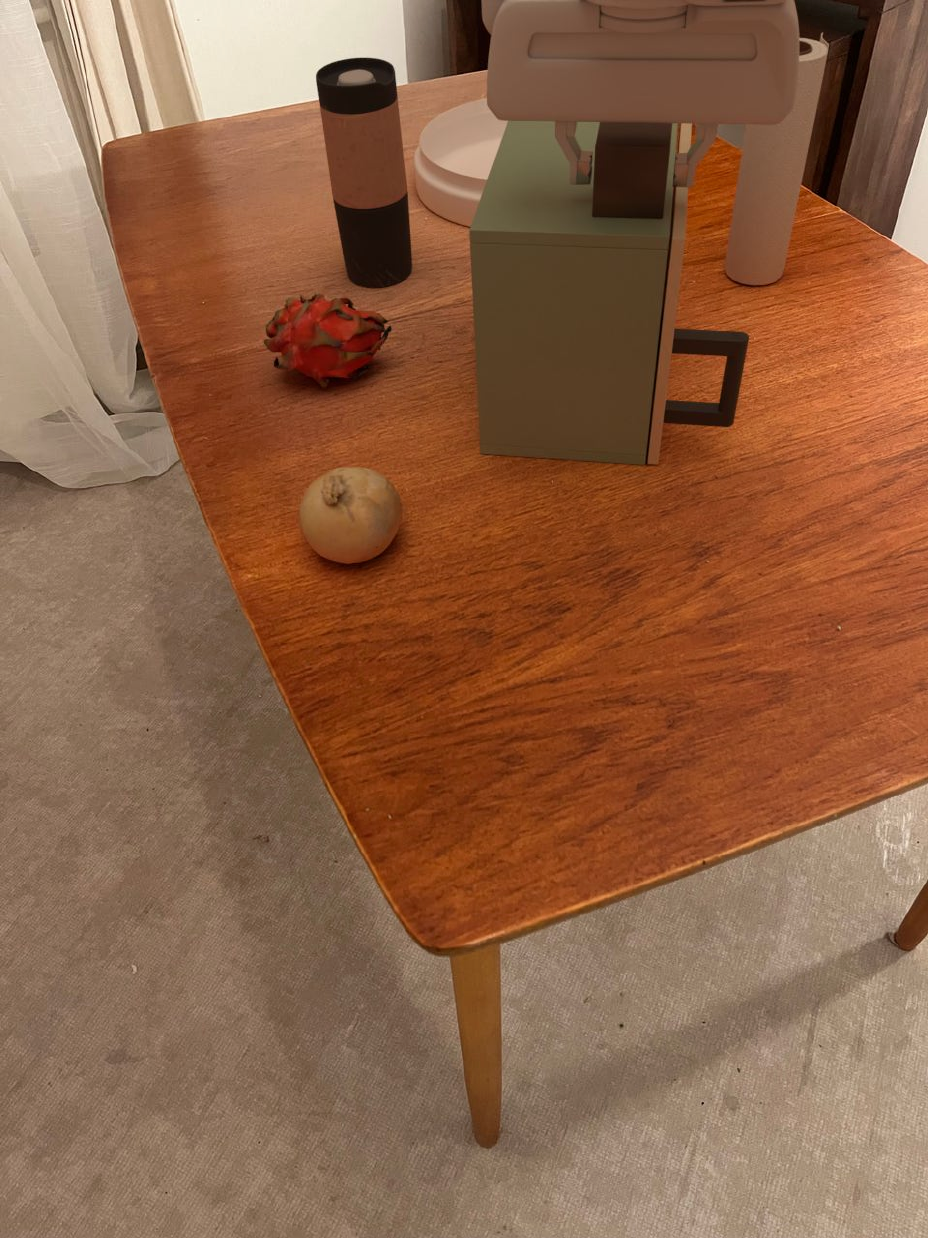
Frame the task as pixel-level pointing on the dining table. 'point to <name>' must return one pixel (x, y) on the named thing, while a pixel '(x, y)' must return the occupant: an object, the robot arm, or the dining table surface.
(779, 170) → the paper towel roll
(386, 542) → the onion
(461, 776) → the dining table surface
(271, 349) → the dragon fruit
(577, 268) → the cupboard
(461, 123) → the plate
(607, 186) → the block
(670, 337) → the cupboard door
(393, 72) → the travel mug
